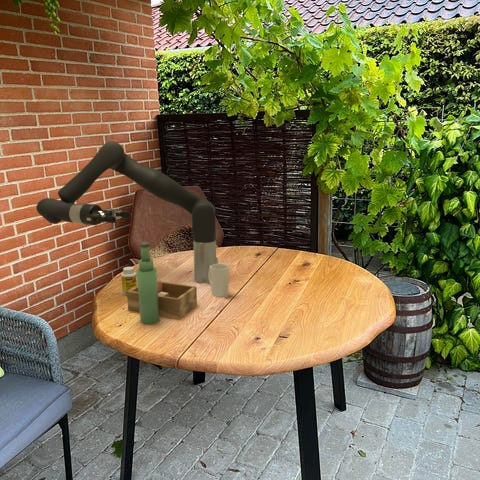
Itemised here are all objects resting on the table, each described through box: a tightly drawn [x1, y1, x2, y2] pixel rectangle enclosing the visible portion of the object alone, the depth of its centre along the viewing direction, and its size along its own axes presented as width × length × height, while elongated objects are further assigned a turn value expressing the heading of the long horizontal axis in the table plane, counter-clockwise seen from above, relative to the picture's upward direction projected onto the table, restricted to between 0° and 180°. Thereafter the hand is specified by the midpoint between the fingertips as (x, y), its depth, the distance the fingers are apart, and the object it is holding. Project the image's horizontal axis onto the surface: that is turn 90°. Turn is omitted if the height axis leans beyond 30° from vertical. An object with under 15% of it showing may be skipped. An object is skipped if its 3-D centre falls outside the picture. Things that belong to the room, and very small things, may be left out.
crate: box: [126, 279, 198, 321], centre depth 153 cm, size 13×20×9 cm, turn 68°
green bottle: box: [136, 241, 161, 325], centre depth 141 cm, size 6×6×27 cm
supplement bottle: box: [120, 266, 138, 296], centre depth 169 cm, size 6×6×10 cm
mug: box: [208, 263, 230, 299], centre depth 167 cm, size 10×7×12 cm, turn 42°
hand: (123, 217), depth 153 cm, fingers open, 8 cm apart
